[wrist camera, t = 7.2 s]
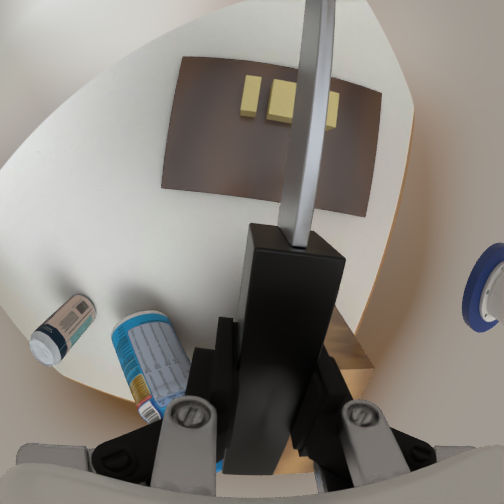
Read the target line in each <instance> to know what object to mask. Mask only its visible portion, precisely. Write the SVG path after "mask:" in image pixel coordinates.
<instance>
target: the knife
mask: <svg viewBox="0 0 504 504" xmlns="http://www.w3.org/2000/svg"><path fill="white" fill-rule="evenodd" d="M335 2H336V0H306V3H305V13H304V23H303V33H302V42H301V51H300V60H299V68H298V77H297V85H296V93H295V101H294V109H293V117H292V125H291V132H290V140H289V147H288V154H287V161H286V169H285V176H284V183H283V189H282V196H281V203H280V210H279V216H278V223H277V225H278V226H272V225H264V224H256V223H250V224H249V229H248V236H247V244H246V251H245V259H244V267H243V275H242V282H241V290H240V298H239V306H238V314H237V321H236V322H237V371H239V396H238V403H237V410H236V416H235V422H234V428H233V434H232V440H231V446H230V449H225V455H224V459H223V462H222V473H223V474H233V475H273V473H274V471H275V469H276V467H277V465H278V463H279V460H280V458H281V456H282V454H283V451H284V449H285V447H286V445H287V442H288V440H289V437H290V433H291V430H292V428H293V425H294V423H295V420H296V418H297V415H298V413H299V410H300V408H301V405H302V402H303V400H304V397H305V394H306V391H307V389H308V386H309V383H310V380H311V377H312V374H314V371H315V368H316V365H317V362H318V359H319V356H320V353H321V350H322V347H323V344H324V340H325V337H326V334H327V330H328V327H329V324H330V320H331V317H332V313H333V309H334V306H335V302H336V298H337V295H338V291H339V287H340V283H341V279H342V275H343V270H344V266H345V262H346V259H345V257H344V256H342V255H341V254H340V253H339V252H338V251H337V250H335V249H334V248H333V247H332V246H331V245H330V244H328V243H327V242H326V241H325V240H324V239H323V238H321V237H320V236H319V235H318V234H317V233H316V232H314V231H310V229H311V224H312V218H313V212H314V206H315V200H316V193H317V187H318V180H319V174H320V167H321V160H322V152H323V145H324V137H325V129H326V121H327V112H328V102H329V93H330V82H331V71H332V58H333V44H334V26H335Z"/></svg>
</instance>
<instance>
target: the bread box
mask: <svg viewBox="0 0 504 504" xmlns="http://www.w3.org/2000/svg"><path fill="white" fill-rule="evenodd" d="M324 345H325V348H326V350H327V352H328V354H329V356H332V357H333V358H334V359H335V361H336V363H337V365H338V367H339V369H340V371H341V374H342V376H343V378H344V380H345V382H346V384H347V386H348V389H349V391H350V393H351V395H352V397H353V400H356V399H360V398H361V396H362V394H363V392H364V391H365V389H366V386H367V385H368V383H369V380H370V378H371V376H372V374H373V372H374V370H375V367H374V366H373V364H372V362H371V361H370V359H369V358H368V356H367V354H366V353H365V351H364V350H363V348H362V347H361V345H360V343H359V342H358V340H357V339H356V337H355V336H354V334H353V332H352V331H351V329H350V328H349V326H348V325H347V323H346V322H345V320H344V319H343V317H342V315H341V314H340V312H339V311H338V309H337V308H336V306H334V309H333V313H332V317H331V320H330V324H329V327H328V330H327V334H326V337H325V340H324ZM309 472H314V469H313V460H311V459H309V458H308V456H307V457H299V453H298V449H297V450H294V449H293V446H292V441H291V435H290V437H289V440H288V442H287V445H286V447H285V449H284V451H283V454H282V456H281V458H280V460H279V463H278V465H277V467H276V469H275V471H274V473H273V474H295V473H309Z"/></svg>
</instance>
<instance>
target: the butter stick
mask: <svg viewBox="0 0 504 504" xmlns="http://www.w3.org/2000/svg"><path fill="white" fill-rule="evenodd" d="M296 85H297V83H294V82H288V81H283V80H278V79H274V80H273V82H272V85H271V88H270V95H269V102H268V108H267V115H266V119H267V120H274V121H279V122H285V123H290V124H292V117H293V109H294V101H295V93H296ZM338 103H339V93H336V92H332V91H330V93H329V102H328V112H327V121H326V129H325V131H329V130H331V129H333V128H336V120H337V112H338Z"/></svg>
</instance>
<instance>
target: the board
mask: <svg viewBox="0 0 504 504" xmlns="http://www.w3.org/2000/svg"><path fill="white" fill-rule="evenodd" d="M246 75H250V76H258V77H262V79H261V86H260V92H259V98H258V105H257V111H256V115H255V117H247V116H241V115H240V108H241V102H242V96H243V90H244V84H245V78H246ZM297 77H298V69H295V68H290V67H285V66H279V65H273V64H267V63H260V62H253V61H245V60H236V59H225V58H211V57H183V58H182V62H181V67H180V71H179V76H178V80H177V85H176V90H175V95H174V101H173V106H172V112H171V118H170V124H169V130H168V137H167V143H166V151H165V158H164V166H163V175H162V184H161V188H164V189H175V190H185V191H195V192H204V193H213V194H221V195H229V196H237V197H245V198H252V199H260V200H267V201H274V202H280V203H281V196H282V189H283V183H284V176H285V169H286V161H287V154H288V147H289V140H290V132H291V125H292V124H290V123H285V122H279V121H274V120H267V119H266V115H267V108H268V102H269V95H270V88H271V85H272V82H273V80H274V79H278V80H283V81H288V82H294V83H297ZM330 91H332V92H336V93H339V103H338V112H337V120H336V128H333V129H331V130H329V131H325V137H324V145H323V152H322V160H321V167H320V174H319V180H318V187H317V193H316V200H315V206H314V208H318V209H323V210H329V211H335V212H340V213H346V214H351V215H356V216H361V217H365V216H366V211H367V206H368V201H369V195H370V189H371V183H372V177H373V171H374V164H375V156H376V149H377V141H378V132H379V122H380V111H381V97H382V93H380V92H377V91H374V90H371V89H369V88H366V87H363V86H360V85H356V84H353V83H350V82H347V81H343V80H340V79H336V78H333V77H331V82H330Z"/></svg>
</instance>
